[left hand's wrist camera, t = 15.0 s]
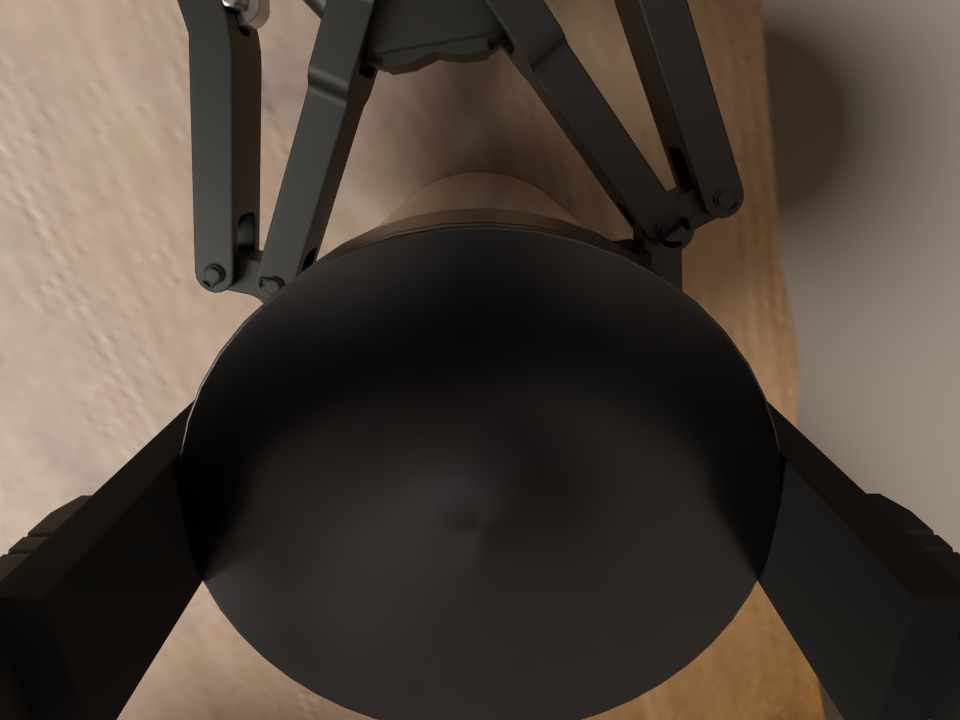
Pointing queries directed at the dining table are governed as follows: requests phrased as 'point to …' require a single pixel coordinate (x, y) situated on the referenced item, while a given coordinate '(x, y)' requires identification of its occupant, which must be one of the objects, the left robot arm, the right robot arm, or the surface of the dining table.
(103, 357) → the dining table surface
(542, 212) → the jar
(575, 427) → the lid
